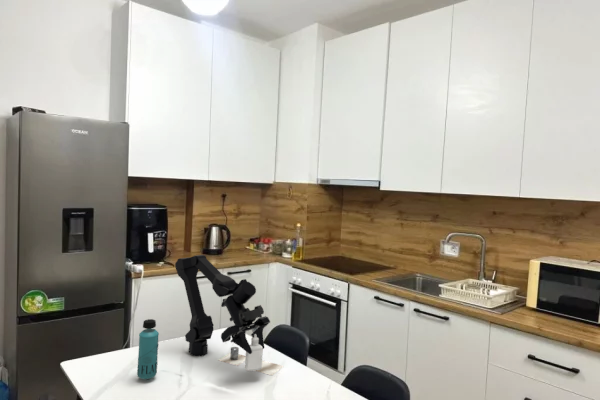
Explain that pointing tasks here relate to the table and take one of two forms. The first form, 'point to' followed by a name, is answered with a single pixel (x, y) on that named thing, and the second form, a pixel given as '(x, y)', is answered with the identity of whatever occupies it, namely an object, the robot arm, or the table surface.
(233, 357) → the metal pin
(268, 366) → the board
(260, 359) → the eye dropper bottle
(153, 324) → the beverage bottle
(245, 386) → the table surface
